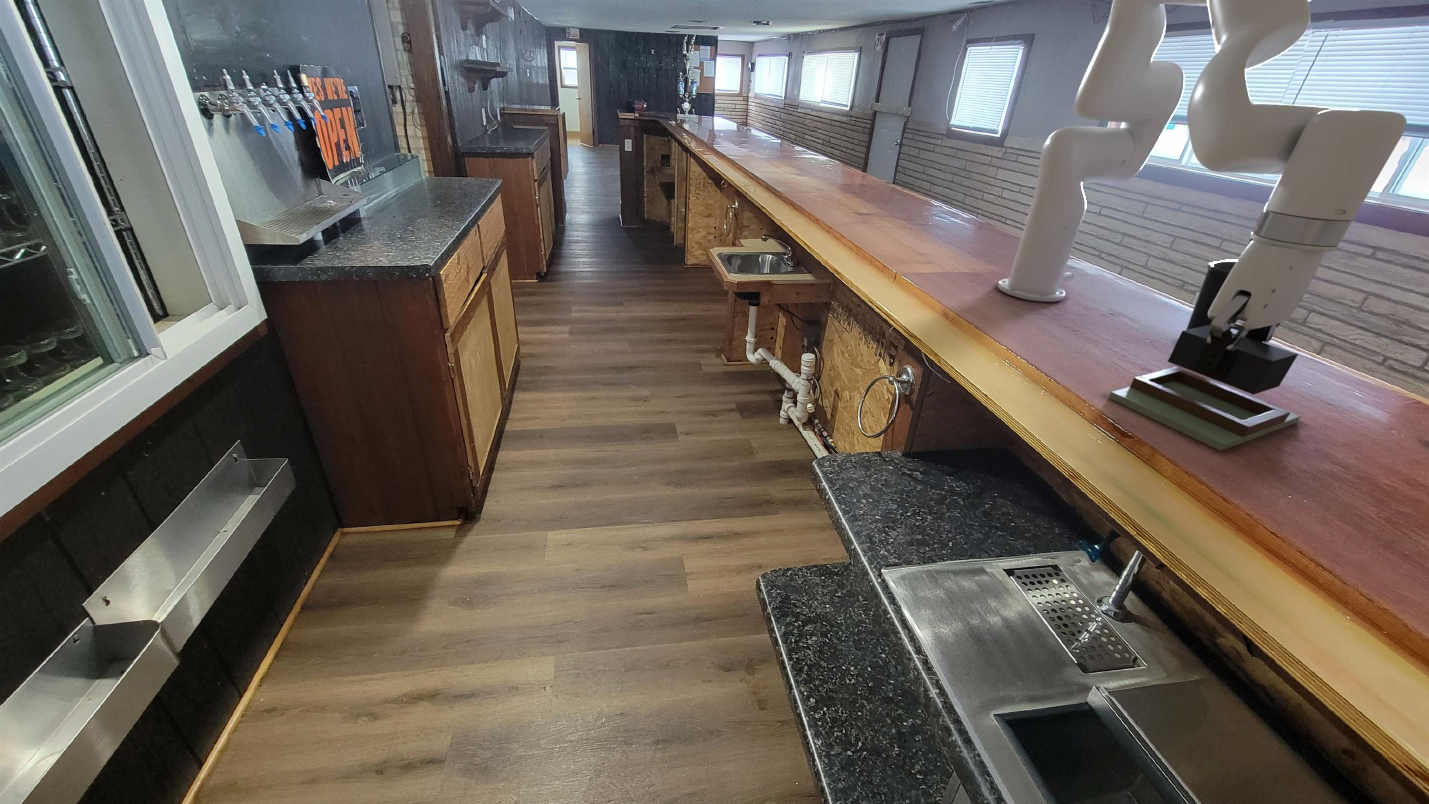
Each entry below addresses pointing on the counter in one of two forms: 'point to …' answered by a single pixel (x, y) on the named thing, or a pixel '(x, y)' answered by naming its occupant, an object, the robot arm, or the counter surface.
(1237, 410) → the rectangular tray
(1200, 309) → the drinking cup
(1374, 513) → the counter surface
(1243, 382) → the black rectangular block
